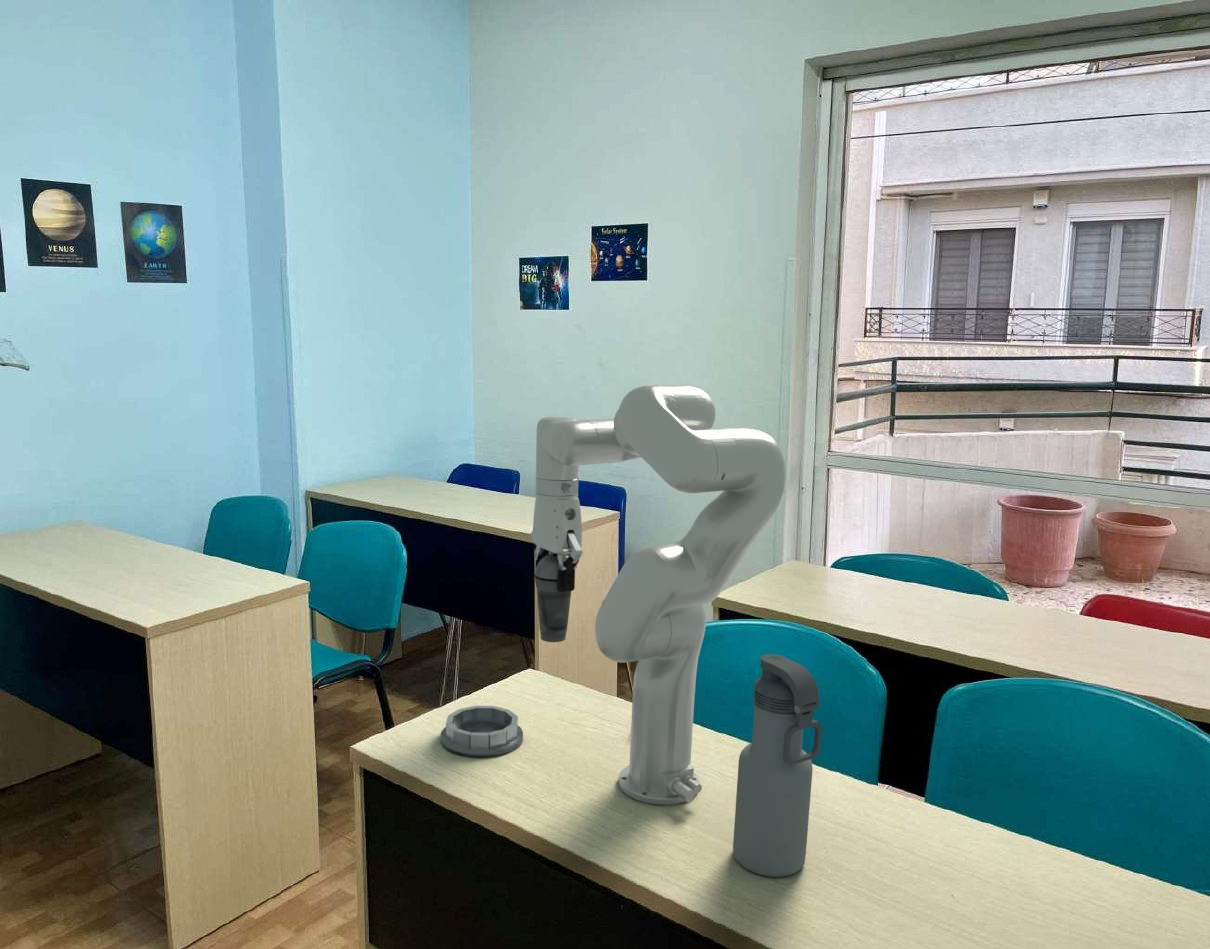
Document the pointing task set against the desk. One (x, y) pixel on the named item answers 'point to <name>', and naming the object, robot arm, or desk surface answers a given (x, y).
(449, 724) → the base
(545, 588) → the beverage cup
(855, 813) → the desk surface
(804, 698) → the water bottle
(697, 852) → the desk surface
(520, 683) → the desk surface
